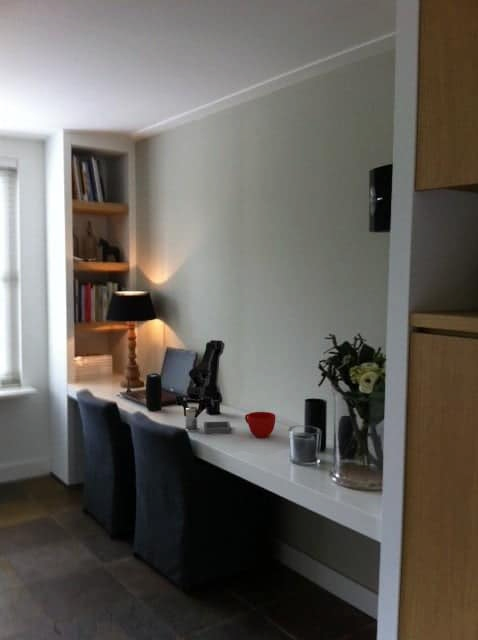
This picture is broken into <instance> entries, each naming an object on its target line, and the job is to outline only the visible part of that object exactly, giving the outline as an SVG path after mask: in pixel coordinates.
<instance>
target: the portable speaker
mask: <svg viewBox="0 0 478 640" xmlns="http://www.w3.org/2000/svg"><path fill="white" fill-rule="evenodd" d="M145 380H146V381H145V403H146V405H145V406H146V409H147V410H148V411H149V412H155V411H156V410H159V411H161V410H162V403H163V392H162V391H163V389H162V388H163V387H162V385H163V382H162V375H161V374H159V373H156V372H154V373H150V374H146V379H145Z"/></svg>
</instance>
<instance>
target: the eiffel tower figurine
mask: <svg viewBox="0 0 478 640" xmlns="http://www.w3.org/2000/svg"><path fill="white" fill-rule="evenodd" d="M132 393H133V391H132V389H131V387H130V377H129V375H128V377H127V389H126V391H125V393H124V395H125V394H128V395H129V394H131V395H132ZM116 396H117V397H118V398H120V399H123V398H121V397H122V396H121V394H116ZM123 400H124V399H123Z"/></svg>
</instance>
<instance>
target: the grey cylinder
mask: <svg viewBox="0 0 478 640" xmlns="http://www.w3.org/2000/svg"><path fill="white" fill-rule="evenodd" d="M197 409H198V407H197V406H189V407H186V416H185V427H184V429H186V430H187V431H188V432H187V433H196V432H195V431H197V432H198V430H200V429H199V427H198V417H196V412H197Z"/></svg>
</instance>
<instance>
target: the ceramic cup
mask: <svg viewBox="0 0 478 640" xmlns="http://www.w3.org/2000/svg"><path fill="white" fill-rule="evenodd" d="M244 420H245V422H246V424H247V425H248V428H249V431H250V432H251V434H252V435H253V436H254V437H255V438H257V439H258V438H259V439H265V438H269V436H270V435H271V434H272V432H273V431H274V429H275V426H276V414H275V413H272V412H268V411H254V412H253V411H252V412H250V413H247V414H245V415H244Z"/></svg>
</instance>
